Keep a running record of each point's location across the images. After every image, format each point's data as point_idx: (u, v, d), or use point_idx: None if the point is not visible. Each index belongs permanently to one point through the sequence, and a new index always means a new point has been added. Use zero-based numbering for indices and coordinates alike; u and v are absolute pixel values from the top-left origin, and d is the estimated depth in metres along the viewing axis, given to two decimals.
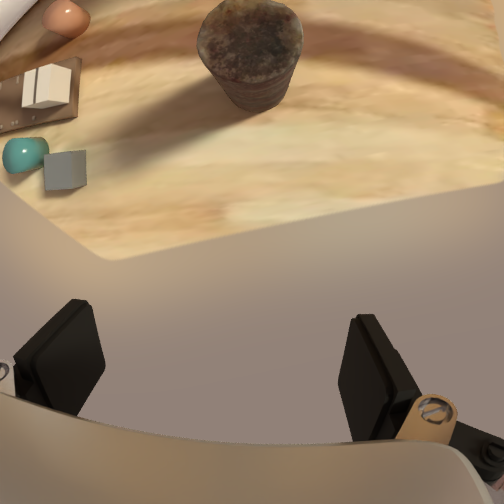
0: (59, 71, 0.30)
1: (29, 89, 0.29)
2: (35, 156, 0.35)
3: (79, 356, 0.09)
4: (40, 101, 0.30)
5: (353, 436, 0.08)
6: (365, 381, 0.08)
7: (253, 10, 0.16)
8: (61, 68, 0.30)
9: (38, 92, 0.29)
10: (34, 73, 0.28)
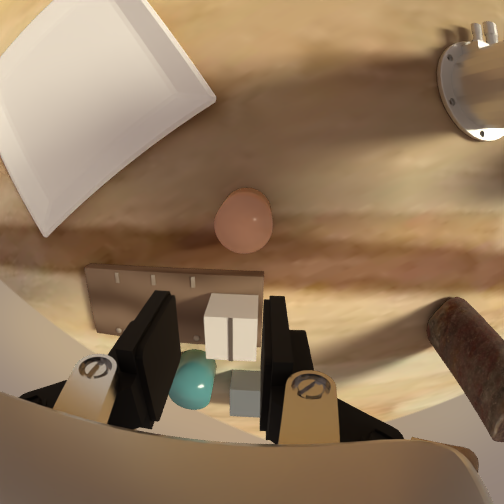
0: None
1: (218, 341, 0.30)
2: None
3: (167, 346, 0.10)
4: (241, 359, 0.30)
5: (260, 410, 0.09)
6: None
7: None
8: (257, 308, 0.31)
9: (236, 349, 0.30)
10: (225, 324, 0.29)
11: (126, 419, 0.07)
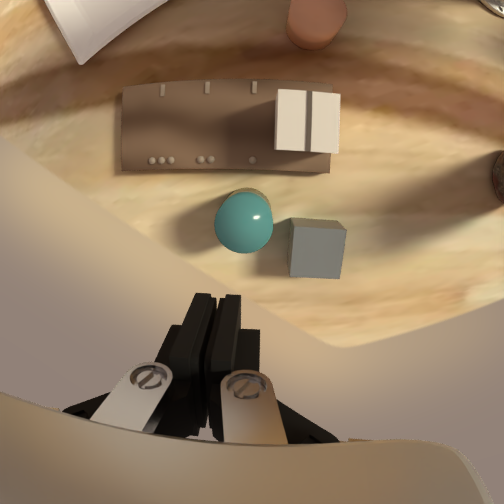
0: None
1: (294, 123, 0.23)
2: None
3: None
4: (320, 151, 0.24)
5: None
6: None
7: None
8: None
9: (315, 134, 0.24)
10: (303, 98, 0.23)
11: (174, 432, 0.07)
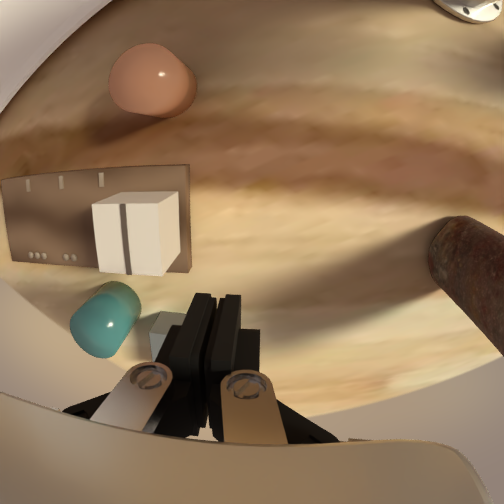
0: (167, 208, 0.22)
1: (111, 243, 0.20)
2: (128, 328, 0.27)
3: None
4: (143, 273, 0.21)
5: None
6: None
7: None
8: (168, 200, 0.22)
9: (134, 254, 0.21)
10: (117, 213, 0.20)
11: (174, 432, 0.07)
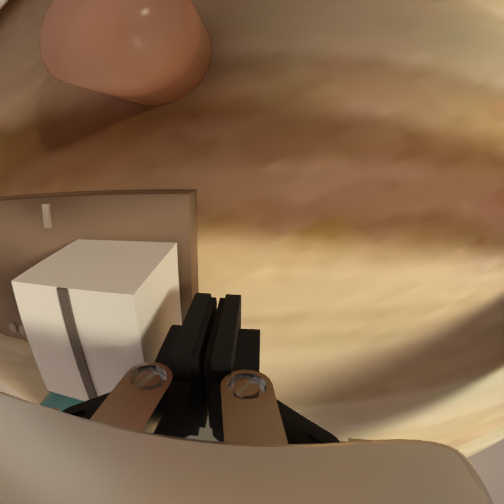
0: (156, 289, 0.11)
1: (55, 354, 0.09)
2: None
3: None
4: None
5: None
6: None
7: None
8: (159, 271, 0.11)
9: (100, 379, 0.10)
10: (55, 305, 0.09)
11: (174, 432, 0.07)
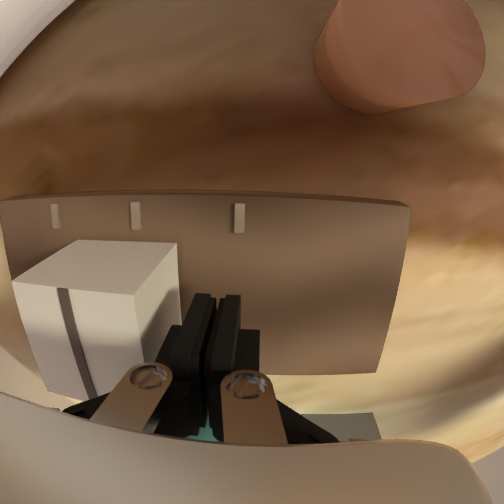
0: (156, 289, 0.11)
1: (55, 354, 0.09)
2: None
3: None
4: None
5: None
6: None
7: None
8: (158, 271, 0.11)
9: (99, 379, 0.10)
10: (55, 306, 0.09)
11: (174, 432, 0.07)
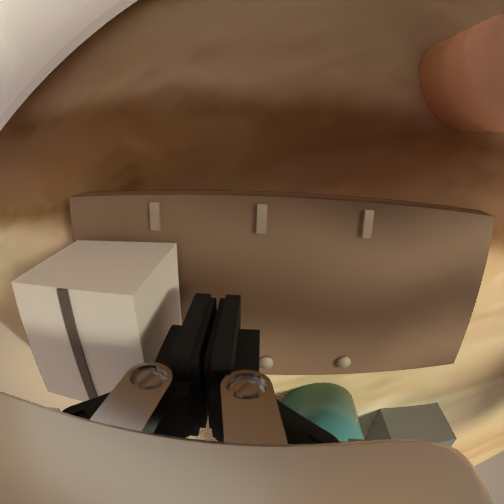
0: (156, 289, 0.11)
1: (56, 355, 0.09)
2: None
3: None
4: None
5: None
6: None
7: None
8: (158, 271, 0.11)
9: (100, 380, 0.10)
10: (55, 306, 0.09)
11: (174, 432, 0.07)
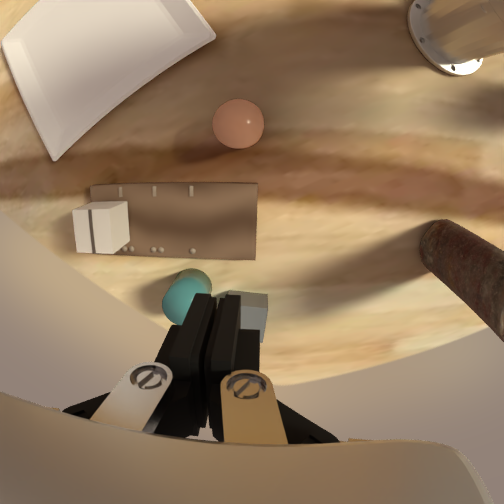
0: (117, 212, 0.33)
1: (83, 234, 0.32)
2: None
3: None
4: (102, 252, 0.33)
5: None
6: None
7: None
8: (118, 207, 0.33)
9: (97, 240, 0.32)
10: (86, 215, 0.31)
11: (174, 432, 0.07)
